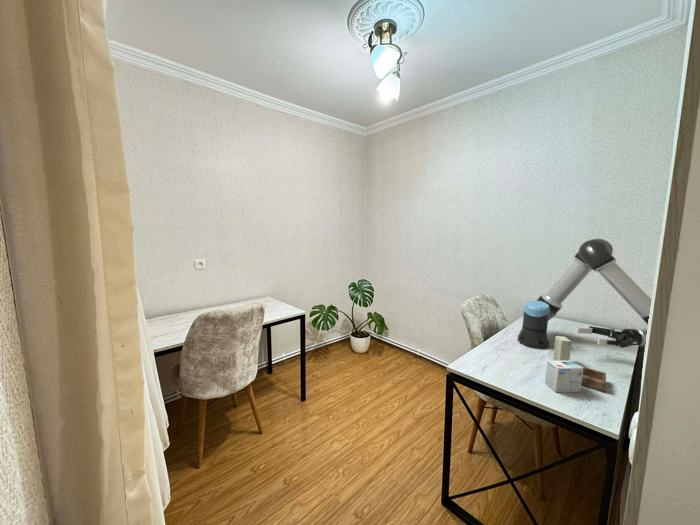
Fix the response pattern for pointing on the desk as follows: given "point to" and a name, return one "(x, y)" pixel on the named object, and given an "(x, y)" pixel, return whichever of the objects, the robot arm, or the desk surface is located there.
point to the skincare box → (562, 348)
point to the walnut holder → (594, 379)
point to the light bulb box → (564, 376)
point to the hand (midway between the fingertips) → (587, 335)
